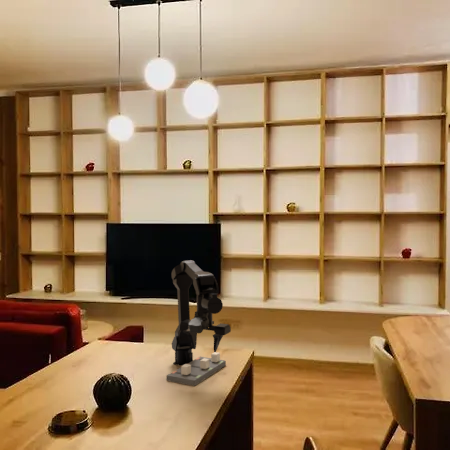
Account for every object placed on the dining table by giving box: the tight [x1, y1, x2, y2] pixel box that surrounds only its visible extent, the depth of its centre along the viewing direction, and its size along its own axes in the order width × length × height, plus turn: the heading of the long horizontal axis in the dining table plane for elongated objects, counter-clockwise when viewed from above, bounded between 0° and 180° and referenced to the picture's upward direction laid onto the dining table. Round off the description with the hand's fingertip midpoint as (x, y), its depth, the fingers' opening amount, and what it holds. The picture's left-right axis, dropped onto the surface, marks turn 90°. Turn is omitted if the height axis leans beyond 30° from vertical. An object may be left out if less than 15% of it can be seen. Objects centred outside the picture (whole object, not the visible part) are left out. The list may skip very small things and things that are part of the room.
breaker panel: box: [166, 356, 227, 387], centre depth 191 cm, size 12×25×2 cm, turn 153°
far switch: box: [210, 351, 221, 362], centre depth 198 cm, size 2×3×3 cm
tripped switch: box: [180, 364, 191, 375], centre depth 183 cm, size 2×3×3 cm
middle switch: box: [200, 357, 209, 369], centre depth 190 cm, size 2×3×3 cm
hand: (204, 350), depth 180 cm, fingers open, 8 cm apart
